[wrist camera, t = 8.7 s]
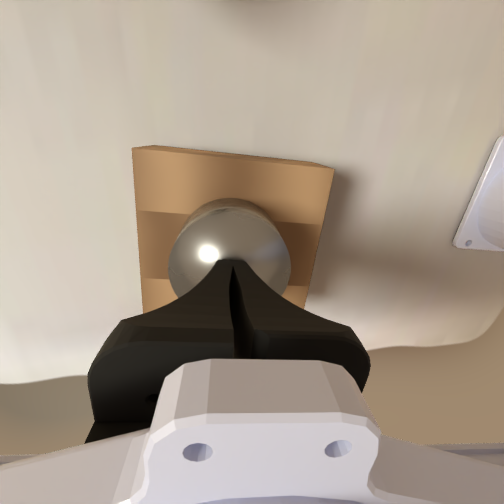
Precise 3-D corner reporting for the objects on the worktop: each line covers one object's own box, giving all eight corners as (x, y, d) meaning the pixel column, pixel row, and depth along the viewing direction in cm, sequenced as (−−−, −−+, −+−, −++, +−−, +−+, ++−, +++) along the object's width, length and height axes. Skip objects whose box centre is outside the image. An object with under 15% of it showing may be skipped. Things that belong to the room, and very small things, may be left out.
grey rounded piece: (278, 193, 17) (304, 223, 11) (262, 268, 20) (276, 326, 14) (192, 179, 17) (171, 203, 11) (185, 259, 19) (164, 316, 13)
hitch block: (312, 162, 17) (334, 169, 14) (287, 292, 21) (300, 325, 17) (153, 145, 16) (131, 147, 12) (159, 286, 20) (143, 320, 16)
